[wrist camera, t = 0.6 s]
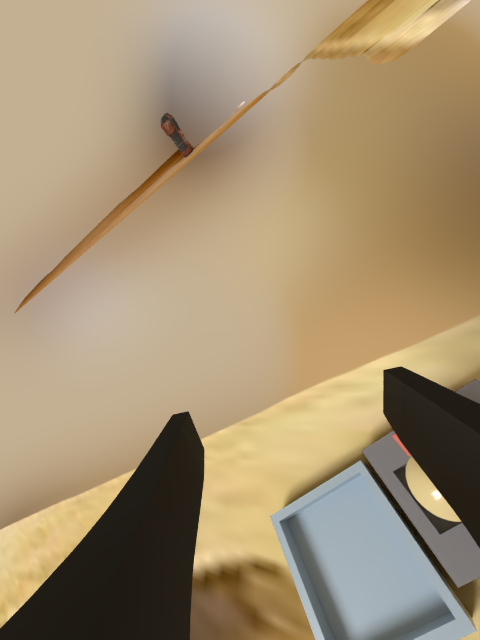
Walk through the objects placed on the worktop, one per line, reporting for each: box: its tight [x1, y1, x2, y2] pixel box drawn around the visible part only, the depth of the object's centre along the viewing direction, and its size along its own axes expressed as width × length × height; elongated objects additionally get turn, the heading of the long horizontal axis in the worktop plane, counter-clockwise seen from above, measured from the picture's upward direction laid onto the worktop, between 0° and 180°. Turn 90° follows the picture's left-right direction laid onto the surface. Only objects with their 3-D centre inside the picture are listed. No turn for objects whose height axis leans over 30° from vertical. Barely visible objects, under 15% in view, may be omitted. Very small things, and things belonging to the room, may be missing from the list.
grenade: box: [161, 113, 193, 157], centre depth 101 cm, size 6×8×15 cm
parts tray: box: [270, 460, 477, 640], centre depth 18 cm, size 9×9×2 cm
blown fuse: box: [406, 456, 461, 522], centre depth 15 cm, size 3×3×6 cm
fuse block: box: [362, 379, 480, 588], centre depth 17 cm, size 8×10×2 cm
